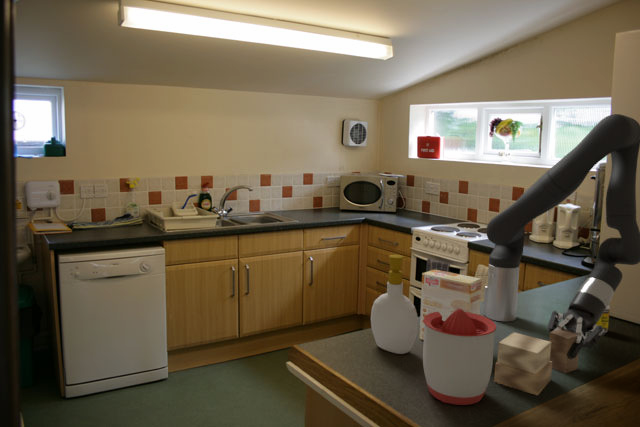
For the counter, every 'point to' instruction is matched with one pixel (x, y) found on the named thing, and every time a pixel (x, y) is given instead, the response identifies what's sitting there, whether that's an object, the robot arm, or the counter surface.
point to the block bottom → (523, 378)
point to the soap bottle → (394, 314)
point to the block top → (524, 352)
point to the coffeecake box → (448, 294)
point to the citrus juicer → (458, 356)
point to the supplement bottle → (604, 319)
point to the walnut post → (562, 350)
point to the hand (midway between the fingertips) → (559, 353)
